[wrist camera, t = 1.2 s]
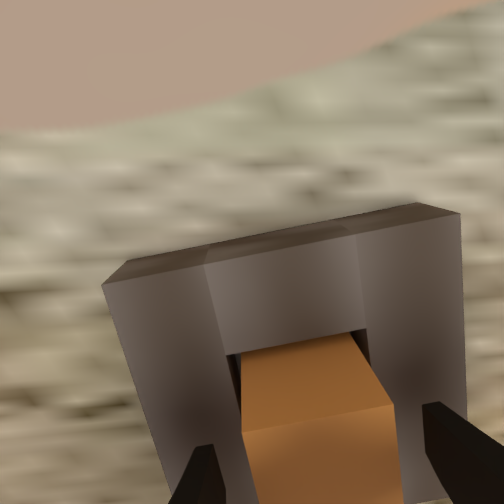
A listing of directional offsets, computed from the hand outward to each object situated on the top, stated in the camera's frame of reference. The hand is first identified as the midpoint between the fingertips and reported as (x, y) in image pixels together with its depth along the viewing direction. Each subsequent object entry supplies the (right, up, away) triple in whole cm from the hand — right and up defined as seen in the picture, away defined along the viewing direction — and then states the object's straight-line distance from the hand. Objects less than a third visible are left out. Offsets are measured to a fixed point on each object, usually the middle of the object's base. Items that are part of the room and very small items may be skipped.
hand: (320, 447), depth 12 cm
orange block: (0, +1, +5) cm, 5 cm away
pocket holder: (0, +1, +5) cm, 5 cm away
